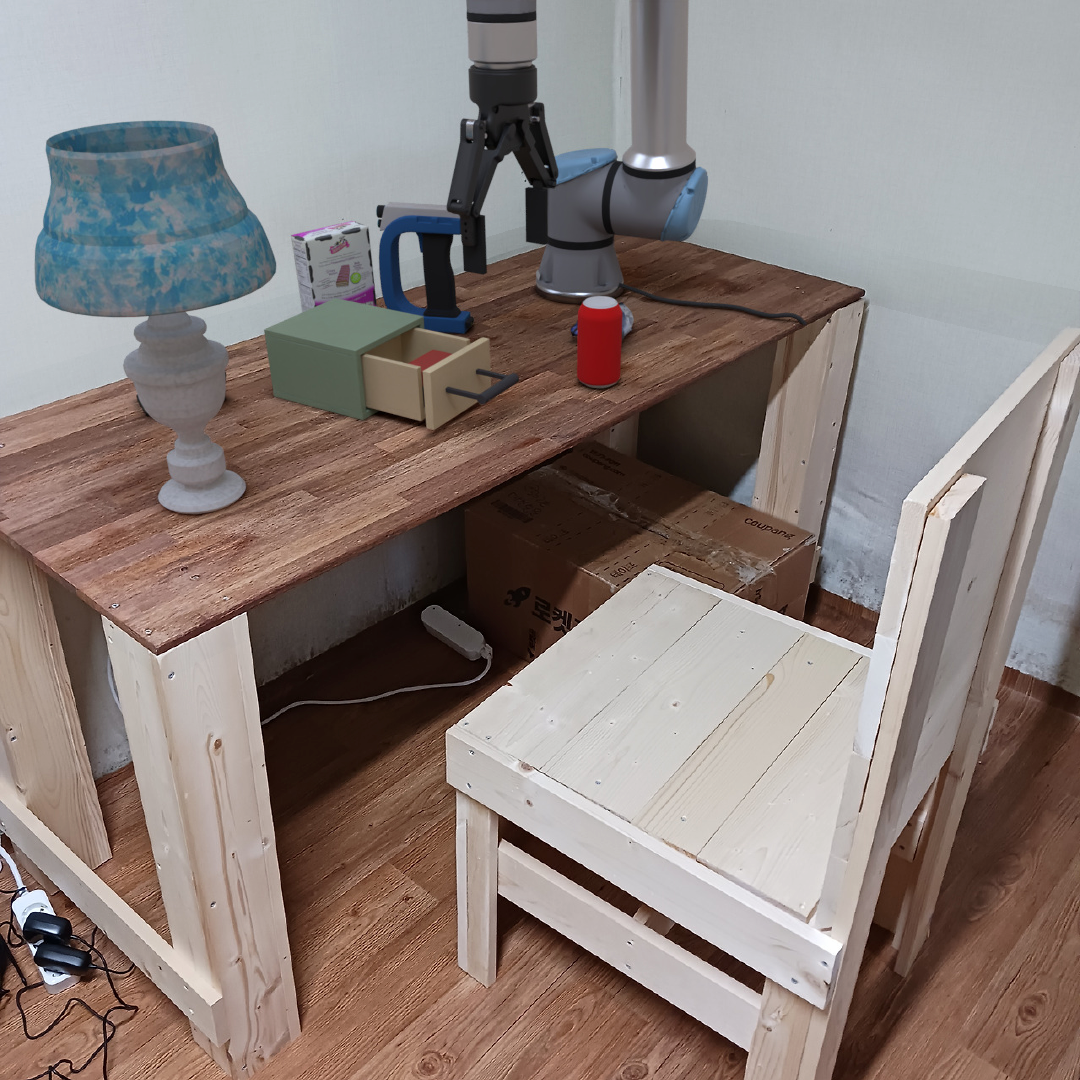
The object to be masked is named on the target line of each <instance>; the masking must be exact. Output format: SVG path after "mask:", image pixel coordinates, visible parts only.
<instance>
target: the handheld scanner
mask: <svg viewBox="0 0 1080 1080" xmlns="http://www.w3.org/2000/svg"><path fill="white" fill-rule="evenodd" d="M472 205H473V203H472ZM446 207H447V204H433V203H432V204H431V203H415V202H413V203H412V202H397V201H396V202H395V201H394V202H393V201H389V202H388V203H387V204H378V205H377V206H376V209H375V213H376V214H375V215H376V217H377V218H378V219H377V223H376V224H377V228H379V232H382V231H383V232H382V234H381V237H380V241H379V246H378V247H379V249H378V250H379V251H378V267H379V268H378V269H379V270H378V271H379V281H380V288H381V289H380V290H381V295H382V299H383V303H384V305H385V308H386V309H390V310H395V311H400V312H405V313H409V314H414V315H419V316H423V317H424V329H426V330H431V331H435V332H440V333H445V334H461V335H463V334H465V333H466V332H467V331H468V330H469V329H470V328H471V327H472V326H473V324H474V323H475V318H474V316H472V314H471V311H470V310H469V311H468V310H462V309H461V308H459V306H458V305H457V293H456V292H457V291H456V290H457V289H456V278H455V272H454V269H453V266H452V262H451V260H452V259H451V249H452V245H453V242H454V235H455V236H461V224H460V216H459V215H458V214H453V213H451V212H448V211H447V208H446ZM406 233H415V235H416V236H417V239H418V245H419V252H420V253H421V254H422V266H423V267H422V268H423V278H424V288H425V289H424V290H425V298H426V299H425V300H426V307H424V308H423V307H419V306H417V305H415V304H413V303H412V302H410V301H409V300H408V298H407V296H406V295H405V293H404V290H403V286H402V277H401V263H400V238H401V235H402V234H406Z"/></svg>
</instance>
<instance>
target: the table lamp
mask: <svg viewBox="0 0 1080 1080" xmlns="http://www.w3.org/2000/svg"><path fill="white" fill-rule="evenodd" d="M45 154H46V157H47V163H48V168H49V170H48V171H49V175H50V176H49V177H50V187H49V195H48V199H47V202H46V205H45V209H44V213H43V217H42V226H43V227H42V228H41V230H40V232H39V234H38V235H37V238H36V243H35V247H34V248H35V249H34V284H35V290H36V294H37V296H38V297H39V299H40V300H41V301H42V302H44V303H45V304H47V306H50V307H52V308H54V309H57V310H59V311H62V312H65V313H71V314H74V315H81V316H89V317H100V318H101V317H102V318H141V317H147V319H146V320H145V321H142V322H141V323H139V324H137V325H136V326H135V327H134V329H133V336H134V338H135V340H136V341H137V342H139V343H140V344H139V346H138V348H136V349H134V350H132V351H131V352H129V353H128V354H127V355H126V356H125V357H124V359H123V372H124V374H125V376H126V377H127V378H128V379H129V380H130V381H131V382H132V383H133V386H134V389H135V391H136V395H137V394H138V397H139V400H140V402H141V404H142V406H143V407H144V409H145V411H146V412H147V413H148V414H149V417H151V418H152V420H154V421H156V422H157V423H158V424H160V425H162V426H165V427H167V428H170V429H171V430H172V431H174V432H175V433H176V436H177V438H176V439H175V441H174V442H173V443H174V444H173V445H174V448H172V449H171V450H169V452H168V453H167V455H166V462H167V468H168V473H169V476H170V477H171V478H169V480H167V481H166V482H164V484H163V486H162V487H161V488H160V490H159V493H158V495H157V501H158V502H159V504H161V505H162V506H163V507H164V508H165V509H167V510H169V511H172V512H176V513H178V514H183V515H201V514H208V513H213V512H216V511H220V510H222V509H225V508H228V507H229V506H231V505H233V504H234V503H235V502H237V501H238V500H239V499H240V498H241V497H242V496H243V494H244V493H245V491H246V489H247V484H246V482H245V479H243V478H242V477H241V476H240V475H239V474H238V473H236V472H234V471H233V470H229V469H227V461H226V456H225V451H224V448H223V446H221V445H220V444H218V443H215V442H214V441H213V442H212V438H211V437H210V435H208V434H207V433H205V429H206V426H207V425H208V423H209V422H210V421H212V419H214V418H215V417H216V416H217V415H218V413H219V412H220V411H221V409H222V406H223V404H224V401H225V400H224V399H225V396H226V392H227V380H226V381H225V372H226V368H227V367H228V365H229V362H230V357H229V351H228V349H227V348H226V346H225V345H223V344H222V343H221V342H219V341H216V340H213V339H208V338H207V337H206V336H205V335H204V334H205V333H206V332H207V327H208V325H207V323H206V321H205V320H204V319H203V318H201V317H199V316H196V315H189V314H188V312H192V311H198V310H203V309H207V308H211V307H214V306H215V307H216V306H220V305H223V304H226V303H229V302H233V301H236V300H238V299H240V298H243V297H245V296H248V295H251V294H252V293H254V292H256V291H258V290H259V289H261V288H263V287H264V286H266V285H267V284H268V283H270V281H271V280H272V279H273V278H274V276H275V275H276V273H277V260H276V257H275V254H274V251H273V248H272V246H271V243H270V240H269V238H268V235H267V233H266V231H265V229H264V226H263V225H262V223H261V221H260V219H259V218H258V215H256V214H255V212H253V211H252V210H251V209H250V208H249V207H248V205H247V202H246V199H245V198H244V197H243V195H242V194H241V192H240V190H239V189H238V188H237V186H236V185H235V183H234V182H233V180H232V178H231V177H230V175H229V173H228V171H227V169H226V167H225V164H224V161H223V156H222V153H221V148H220V142H219V136H218V134H217V133H216V130H215V128H213V127H212V126H210V125H207V124H204V123H199V122H191V121H183V120H135V121H134V120H133V121H120V122H111V123H102V124H95V125H89V126H83V127H78V128H74V129H70V130H66V131H62V132H59V133H57V134H54V135H52V136H50V137H49V138H48V139H46V142H45Z"/></svg>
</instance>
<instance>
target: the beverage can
mask: <svg viewBox="0 0 1080 1080" xmlns="http://www.w3.org/2000/svg"><path fill="white" fill-rule="evenodd" d="M577 320H578V336H576V338H577V345H576V377H577V379H578V381H579V382H580V383H581V384H583V385H585V386H586V387H589V388H592V389H607V388H610V387H611V386H613V385H615V384H618V382H619V380H620V379H621V371H622V370H621V369H622V368H621V367H622V344H623V339H622V310H621V307H620V305H619V302H618V301H617V300H616V299H615V298H611V297H606V296H595V297H590V298H587V299H586V300H584V301H583V303H582V304H580V306H579V307H578V310H577ZM621 343H622V344H621Z"/></svg>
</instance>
